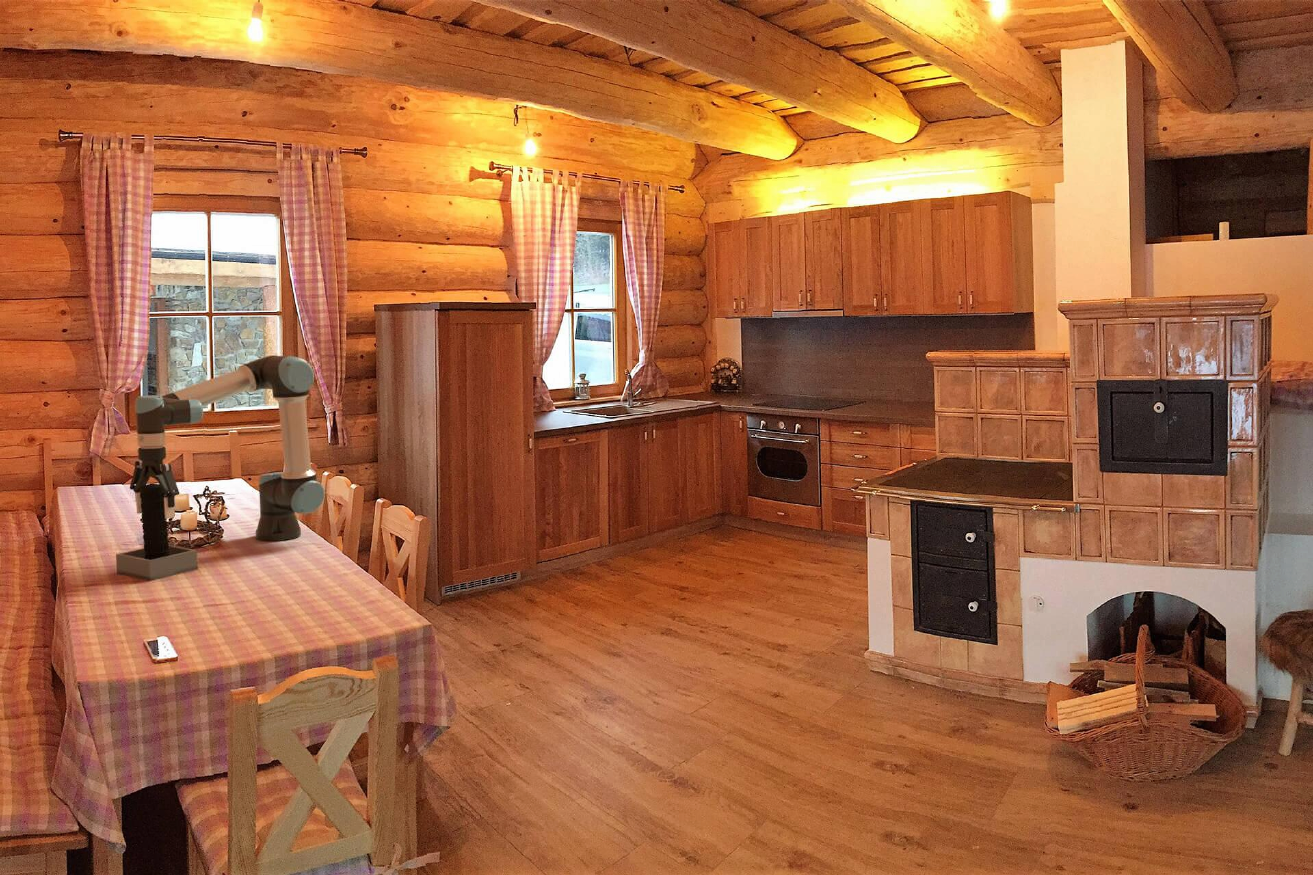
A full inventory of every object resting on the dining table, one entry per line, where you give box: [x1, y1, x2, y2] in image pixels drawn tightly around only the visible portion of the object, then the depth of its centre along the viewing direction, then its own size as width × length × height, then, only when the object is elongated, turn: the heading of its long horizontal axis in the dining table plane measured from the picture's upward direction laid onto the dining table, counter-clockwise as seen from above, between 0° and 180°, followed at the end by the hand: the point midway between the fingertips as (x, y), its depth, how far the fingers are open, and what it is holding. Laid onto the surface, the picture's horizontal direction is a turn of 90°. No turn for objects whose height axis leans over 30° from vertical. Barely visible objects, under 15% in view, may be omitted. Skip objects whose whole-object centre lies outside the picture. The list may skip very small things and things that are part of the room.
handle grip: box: [139, 482, 170, 560], centre depth 309 cm, size 10×26×10 cm
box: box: [115, 544, 199, 582], centre depth 310 cm, size 16×16×6 cm
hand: (155, 515), depth 308 cm, fingers open, 13 cm apart
